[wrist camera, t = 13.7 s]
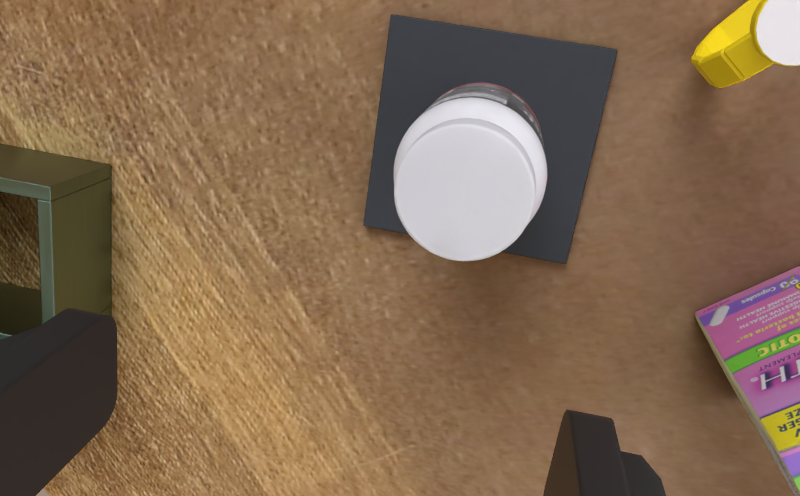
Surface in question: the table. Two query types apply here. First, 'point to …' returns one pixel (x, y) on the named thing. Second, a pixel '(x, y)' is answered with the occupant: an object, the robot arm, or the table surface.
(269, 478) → the table surface
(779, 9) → the watch
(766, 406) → the box
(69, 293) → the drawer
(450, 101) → the pill bottle
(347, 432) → the table surface
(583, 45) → the coaster
